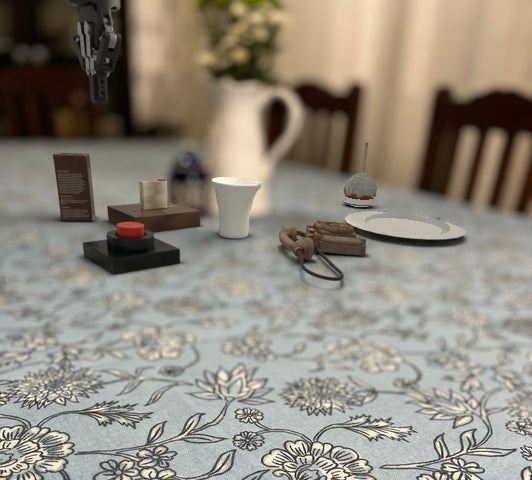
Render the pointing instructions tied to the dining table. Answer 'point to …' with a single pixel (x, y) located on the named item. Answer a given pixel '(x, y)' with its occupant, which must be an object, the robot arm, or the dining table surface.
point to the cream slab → (153, 194)
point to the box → (74, 186)
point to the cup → (234, 204)
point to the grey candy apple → (361, 184)
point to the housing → (130, 252)
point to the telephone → (322, 243)
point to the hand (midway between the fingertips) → (99, 103)
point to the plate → (402, 228)
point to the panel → (155, 216)
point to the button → (130, 229)
